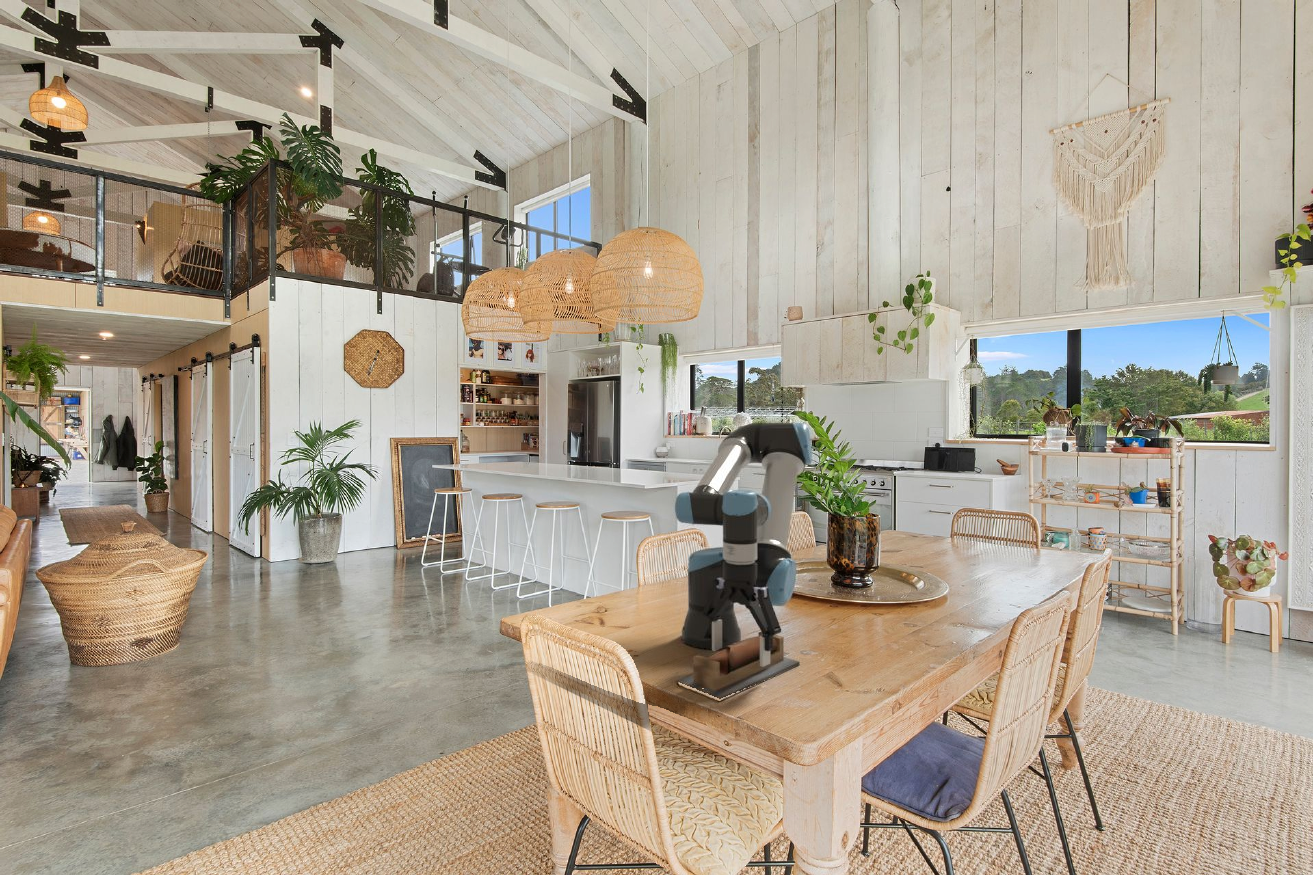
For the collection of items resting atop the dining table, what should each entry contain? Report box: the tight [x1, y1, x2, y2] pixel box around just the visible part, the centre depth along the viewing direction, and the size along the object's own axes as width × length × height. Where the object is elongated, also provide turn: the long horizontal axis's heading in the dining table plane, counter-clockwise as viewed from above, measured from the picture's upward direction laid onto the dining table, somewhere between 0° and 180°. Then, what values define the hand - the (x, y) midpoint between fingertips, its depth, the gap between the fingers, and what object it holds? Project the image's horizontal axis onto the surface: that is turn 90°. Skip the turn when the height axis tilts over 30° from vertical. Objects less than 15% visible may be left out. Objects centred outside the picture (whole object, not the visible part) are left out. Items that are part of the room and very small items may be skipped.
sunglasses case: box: [707, 635, 777, 675], centre depth 145 cm, size 18×7×7 cm
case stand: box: [676, 631, 801, 699], centre depth 146 cm, size 12×28×6 cm, turn 134°
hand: (740, 656), depth 146 cm, fingers open, 13 cm apart
